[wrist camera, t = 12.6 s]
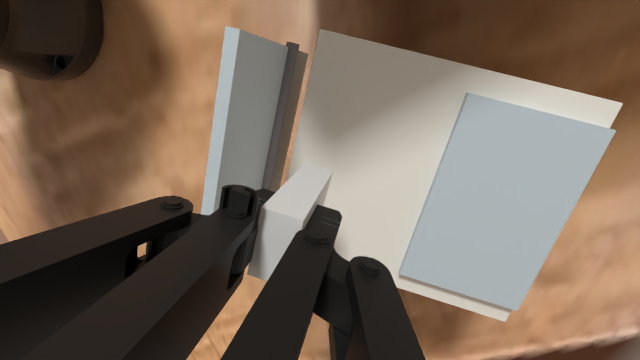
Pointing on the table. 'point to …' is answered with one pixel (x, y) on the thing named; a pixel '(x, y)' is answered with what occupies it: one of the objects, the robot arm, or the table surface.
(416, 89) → the carton
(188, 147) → the table surface
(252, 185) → the flap
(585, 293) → the table surface
